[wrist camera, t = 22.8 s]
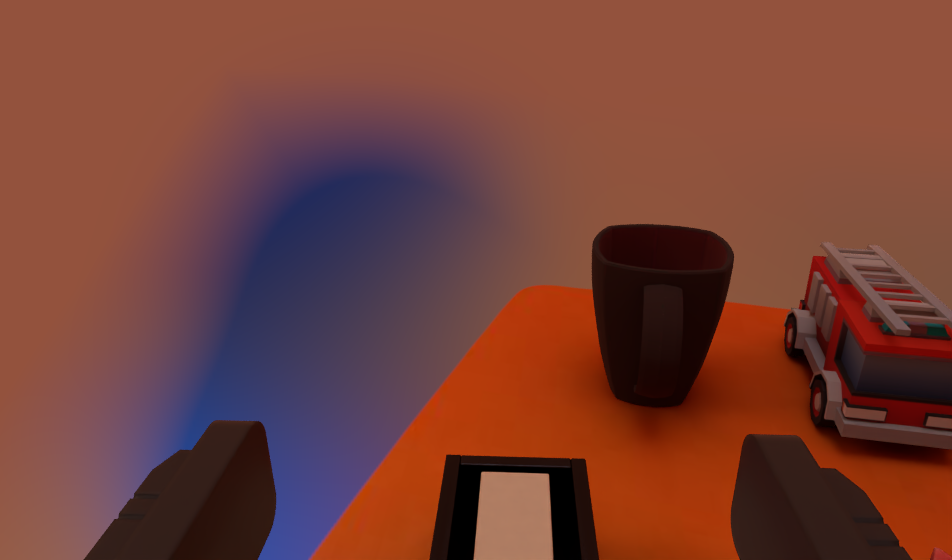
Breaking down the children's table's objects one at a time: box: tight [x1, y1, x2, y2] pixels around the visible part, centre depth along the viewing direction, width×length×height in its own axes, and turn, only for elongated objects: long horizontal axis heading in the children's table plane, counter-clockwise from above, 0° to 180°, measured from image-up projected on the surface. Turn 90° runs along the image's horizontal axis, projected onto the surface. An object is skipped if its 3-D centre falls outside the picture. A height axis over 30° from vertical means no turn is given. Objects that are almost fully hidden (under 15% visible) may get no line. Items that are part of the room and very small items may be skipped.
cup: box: [592, 224, 734, 407], centre depth 49 cm, size 10×14×12 cm
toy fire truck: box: [784, 242, 952, 450], centre depth 50 cm, size 9×19×10 cm, turn 167°
